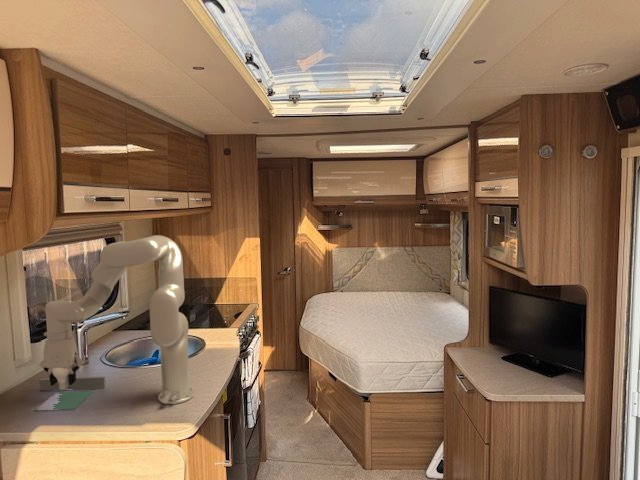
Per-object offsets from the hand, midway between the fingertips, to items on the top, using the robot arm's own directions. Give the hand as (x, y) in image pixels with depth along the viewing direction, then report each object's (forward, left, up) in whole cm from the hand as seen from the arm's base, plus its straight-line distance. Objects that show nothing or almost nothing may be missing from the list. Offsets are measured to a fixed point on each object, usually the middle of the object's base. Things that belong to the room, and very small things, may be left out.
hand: (63, 383), depth 156 cm
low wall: (+10, +2, -7) cm, 12 cm away
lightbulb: (0, 0, -3) cm, 3 cm away
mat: (0, 0, -7) cm, 7 cm away
